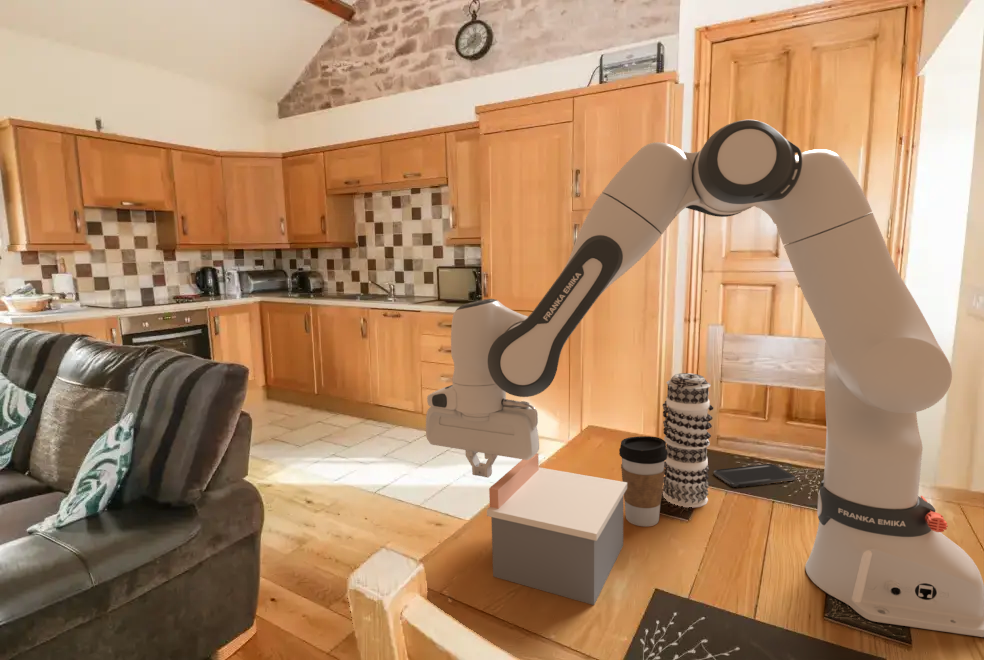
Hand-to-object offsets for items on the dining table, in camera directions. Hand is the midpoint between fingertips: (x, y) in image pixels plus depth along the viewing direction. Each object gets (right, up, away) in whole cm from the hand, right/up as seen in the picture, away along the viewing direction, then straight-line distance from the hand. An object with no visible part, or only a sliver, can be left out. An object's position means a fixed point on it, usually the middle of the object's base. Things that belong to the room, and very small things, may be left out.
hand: (482, 475), depth 91 cm
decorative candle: (+40, -9, +16) cm, 44 cm away
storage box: (+13, -13, -5) cm, 19 cm away
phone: (+58, -8, +24) cm, 64 cm away
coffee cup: (+30, -10, +8) cm, 32 cm away
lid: (+13, -3, -6) cm, 14 cm away
